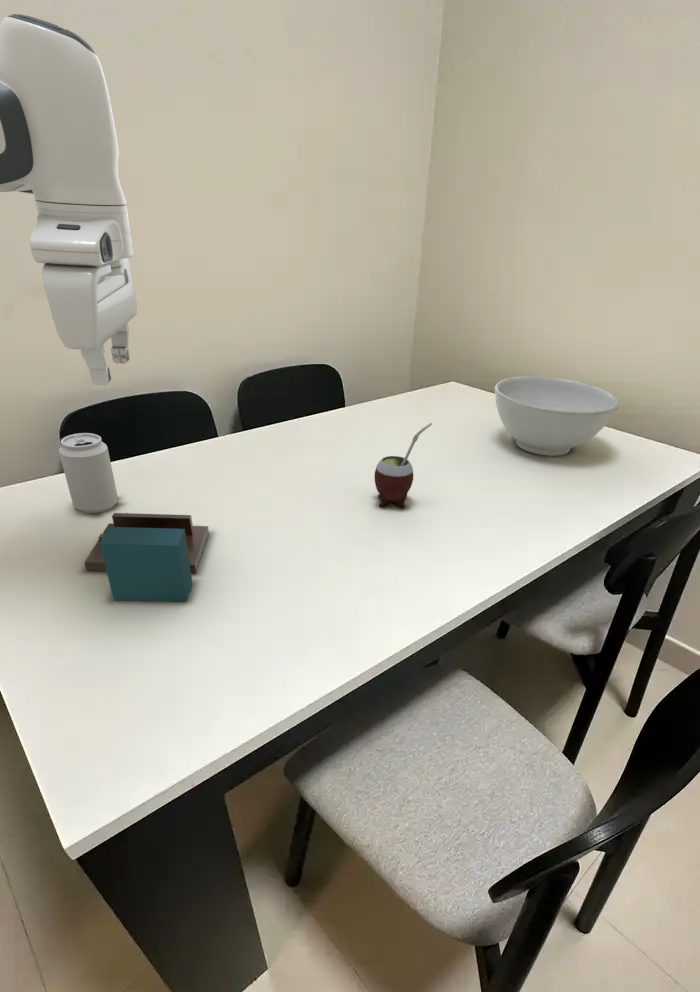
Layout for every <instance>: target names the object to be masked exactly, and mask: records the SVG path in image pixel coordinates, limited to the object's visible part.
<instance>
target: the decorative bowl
mask: <svg viewBox="0 0 700 992" xmlns="http://www.w3.org/2000/svg"><path fill="white" fill-rule="evenodd" d="M494 399H495V406H496V409H497V413H498V416H499V418H500V420H501V423H502V425H503V426H504V428H505V429H506V431H507V432H508V434H510V435H511V436H512V437H513V438H514V439H515V443H516V445H517V446H518V448H521V449H522V450H524V451H526V452H528V453H532V454H536V455H541V456H550V457H553V456H563V455H566V454H568V453H569V452H570V451H571V449H574V448H576V447H578V446H580V445H583V444H585V443H586V442H588V441H590V440H591V439H592V438H593V437H595V436H596V435H597V434H599V432H601V431H602V430H603V429H604V428H605V426H606V425H608V423H609V422H610V421H611V419H612V418H613V416H614V415H615V414H616V412H617V410H618V409H619V407H620V400H619V399H618V397H617V396H616V395H615V394H614V393H612V392H610V391H608V390H606V389H604V388H601V387H599V386H596V385H593V384H590V383H586V382H583V381H577V380H573V379H567V378H562V377H561V378H560V377H553V376H540V375H539V376H538V375H537V376H536V375H535V376H534V375H526V376H523V375H522V376H512V377H508V378H504V379H501V380H499V381H498V382H497V383H496V384H495V386H494Z"/></svg>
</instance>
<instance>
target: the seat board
mask: <svg viewBox="0 0 700 992" xmlns="http://www.w3.org/2000/svg"><path fill="white" fill-rule="evenodd" d="M111 518H112V523H111V522H110V523H108V524H107V526H106V527H105V529H104V530H103V532H102V533H100V535H99V536H98V540H97V542H96V543H95V545H94V546H93V548H92V550H91V551H90V553H89V554H88V556H87V557H86V559H85V560H84V566H85V570H86V571H87V572H107V571H106V567H105V563H104V559H103V555H102V551H101V547H100V542H101V541H102V539H103V537H104V536H105V534H106V532H107V531H108V529H109V528H110V527H132V528H169V529H185V534H186V541H187V548H188V555H189V562H190V569H191V574H197V572H198V568H199V565H200V562H201V559H202V556H203V554H204V551H205V547H206V544H207V541H208V538H209V535H210V529H209V526H208V525H193V519H192V514H168V513H132V512H131V513H130V512H129V513H128V512H113V514H112V515H111Z"/></svg>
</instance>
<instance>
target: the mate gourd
mask: <svg viewBox="0 0 700 992" xmlns="http://www.w3.org/2000/svg"><path fill="white" fill-rule="evenodd" d="M432 425H433V423H432V422H430V423H428V424H426V425H425V426H424V427H422V428H421V429H420V430H419V431H418V432H416V434H414V436H412V437H413V438H412V439H411V440H412V441H411V443H410V445H409V447H408V449H407V452H406V453H405V457H403V456H399V455H387V456H385V457H382V458H381V459H380V460H379V462H378V463H377V464H376V468H375V470H374V475H373V476H374V484H375V488H376V491H377V492H378V496H377V498H379V499H380V503H379V504H378V507H379V508H385V507H387V506H390V505H393V506H396V507H397V508H400V509H405V508H406V504H405V501H406V499H407V496H408V493H409V492H410V490H411V487H412V485H413V481H414V468H413V465H412V463H411V461H410V460H408V458H409V456H410V454H411V453H412V450H413V448H414V446H415V443H417V441H418V439H419V436H420V435H422V433H423V432H425V431H426V430H427V429H428V428H430V427H431V426H432Z"/></svg>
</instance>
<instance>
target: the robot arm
mask: <svg viewBox="0 0 700 992" xmlns="http://www.w3.org/2000/svg"><path fill="white" fill-rule="evenodd" d="M109 93H110V92H109V88H108V85H107V81H106V76H105V73H104V70H103V67H102V63H101V61H100V59H99V56H98V55H97V53H96V52H95V50H94V49H93V47H92V46H91V45H90V44H89V43H88V42H87V41H86V40H84V39H83V38H82V37H80V36H79V35H78V34H77V33H74V32H73V31H71V30H69V29H66V28H64V27H61V26H59V25H57V24H54V23H51V22H49V21H46V20H43V19H40V18H37V17H33V16H29V15H25V14H18V13H13V14H11V15H6V16H5V17H3V19H1V22H0V193H11V192H20V193H24V194H31V195H33V198H34V202H35V207H36V211H37V217H36V224H35V226H34V228H33V229H34V230H33V231H32V232H31V234H30V237H29V246H30V251H31V254H32V258H33V261H35V263H37V264H43V266H42V269H41V270H42V271H41V272H42V273H41V275H42V282H43V287H44V290H45V295H46V298H47V302H48V307H49V310H50V313H51V317H52V321H53V325H54V328H55V330H56V333H57V335H58V337H59V339H60V341H61V343H62V344H63V346H64V347H65V348H66V349H69V350H80V354H81V356H82V358H83V360H84V362H85V364H86V366H87V369H89V374H90V375H89V376H90V380H91V383H92V384H94V385H95V386H107V385H109V383H110V382H111V380H112V376H111V370H110V366H109V365H107V362H106V358H105V354H104V353H105V345H104V344H105V343H106V342H108V341H109V340H110V339H111V347H110V352H111V358H112V361H113V363H115V364H117V365H118V364H122V365H123V364H125V365H126V364H127V363H128V362H129V360H130V358H131V356H130V350H129V337H130V336H129V333H130V329H129V322H130V321H131V320H132V319H133V318H135V316H136V315H137V314H138V302H137V301H138V300H137V296H136V290H135V285H134V279H133V274H132V269H131V265H130V264H131V263H130V260H129V258H132V257H134V254H135V253H134V246H133V239H132V232H131V227H130V218H129V212H128V205H127V199H126V197H125V194H124V191H123V188H122V186H121V182H120V178H119V177H120V176H119V157H120V150H119V143H118V135H117V129H116V124H115V117H114V114H113V107H112V102H111V98H110V94H109Z"/></svg>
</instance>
